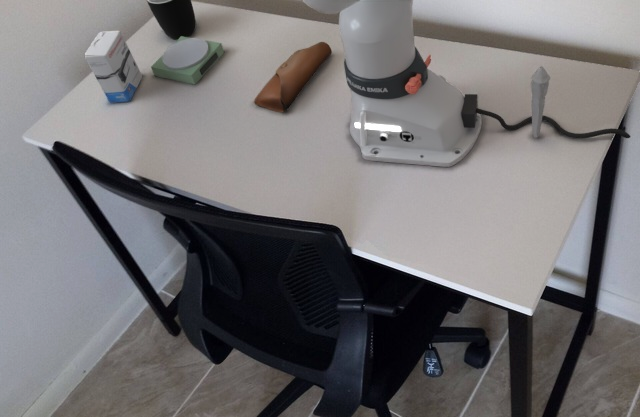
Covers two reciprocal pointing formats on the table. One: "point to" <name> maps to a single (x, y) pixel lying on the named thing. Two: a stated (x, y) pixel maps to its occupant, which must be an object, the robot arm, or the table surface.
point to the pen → (538, 98)
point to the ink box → (113, 66)
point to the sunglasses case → (292, 77)
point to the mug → (174, 17)
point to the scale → (187, 59)
